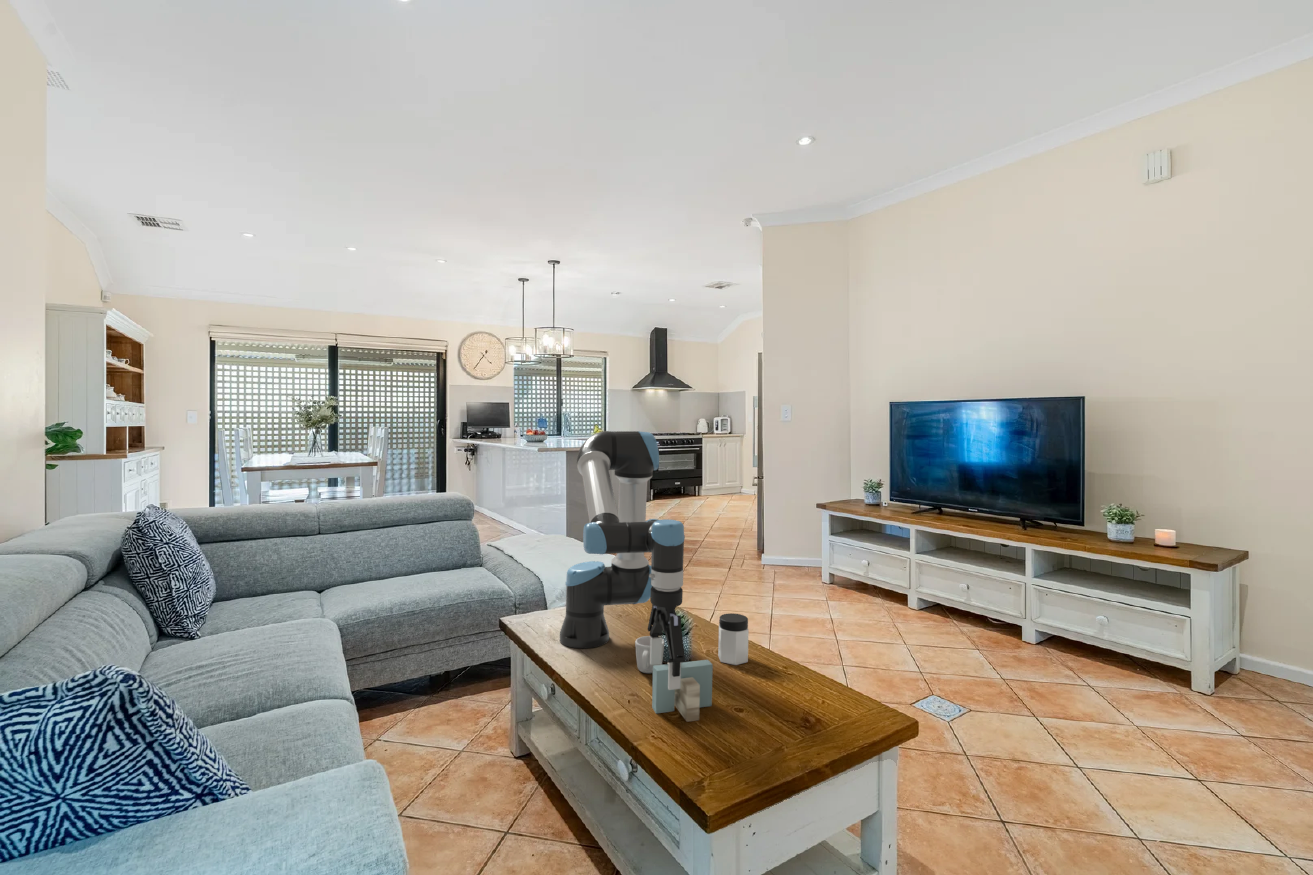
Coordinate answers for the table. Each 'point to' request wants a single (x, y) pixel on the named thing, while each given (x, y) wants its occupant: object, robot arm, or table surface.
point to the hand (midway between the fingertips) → (664, 675)
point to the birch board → (688, 699)
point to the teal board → (666, 697)
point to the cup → (645, 654)
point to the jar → (733, 639)
